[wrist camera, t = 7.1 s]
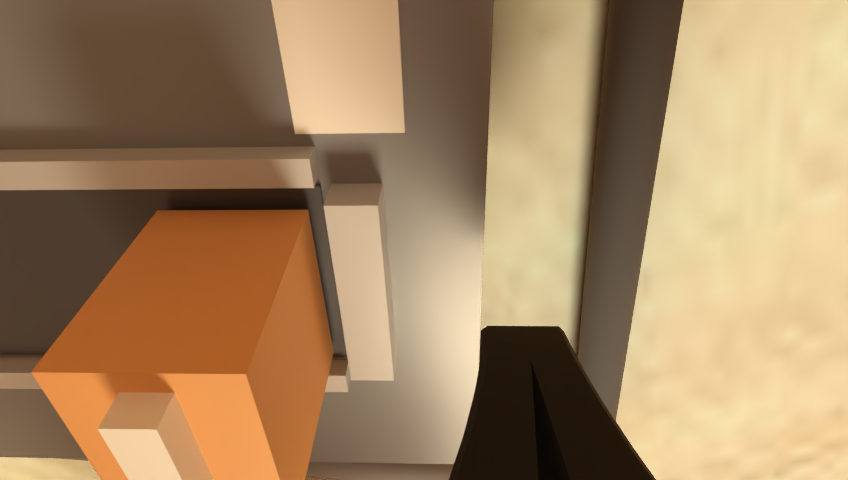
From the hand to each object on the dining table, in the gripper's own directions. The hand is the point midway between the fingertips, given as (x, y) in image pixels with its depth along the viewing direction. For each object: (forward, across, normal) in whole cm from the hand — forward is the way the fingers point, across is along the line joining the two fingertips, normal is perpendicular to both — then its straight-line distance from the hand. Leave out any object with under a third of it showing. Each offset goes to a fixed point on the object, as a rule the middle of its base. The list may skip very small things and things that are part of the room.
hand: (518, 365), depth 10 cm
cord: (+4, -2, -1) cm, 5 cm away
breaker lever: (+2, +6, 0) cm, 6 cm away
